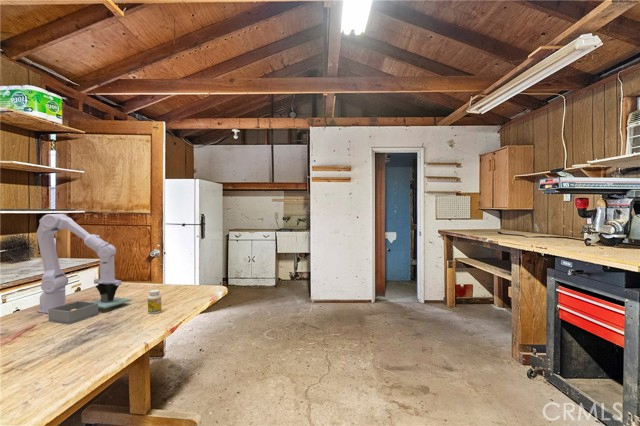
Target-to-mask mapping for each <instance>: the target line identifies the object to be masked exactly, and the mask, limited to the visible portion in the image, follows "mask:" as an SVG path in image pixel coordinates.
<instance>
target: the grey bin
mask: <svg viewBox="0 0 640 426" xmlns="http://www.w3.org/2000/svg"><path fill="white" fill-rule="evenodd" d="M72 309H76V310H73V311H71V310H72ZM47 315H48V322H52V323H58V324H64V325H71V324H74V323H78V322H81V321H83V320H87V319H90V318H92V317H95V316H98V315H99V308H98V303H92V301H83V300H77V301H73V302H70V303H66V304H65V305H62V306H58V307H54V308H51V309H48V313H47Z"/></svg>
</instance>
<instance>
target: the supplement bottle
mask: <svg viewBox="0 0 640 426" xmlns="http://www.w3.org/2000/svg"><path fill="white" fill-rule="evenodd" d="M148 294H149V295H148V297H147V313H148V314H149V315H155V314H160V313H161V312H162V295H161V294H160V289H152V290H149V292H148Z"/></svg>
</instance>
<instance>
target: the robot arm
mask: <svg viewBox="0 0 640 426" xmlns="http://www.w3.org/2000/svg"><path fill="white" fill-rule="evenodd" d="M38 222H39V226H38V228H37V230H36V238H37V243H38V246H39V252H40V256H41V260H42V265H43V271H44V273H43V274H42V276H41V283H40V288H41V290H42V293H41V295H40V296H39V310H37V313H42V314H48V309H51V308H54V307H58V306H62V305H65V304H67V303H66V286H68V283H69V278H68V276H66V273H65V271H64V270H63V269H62V268H61V266H60V261H59V257H58V252H57V247H56V244H55V237H54V236H55V234H56V233H57V232H58V231H60V230H62V229H63V230H68V231H70V233H72V234H74V235H76V236H77V237H79V238H81V239H82V240H83V244H84V245H86V246H87V247H88V248H90V249H91V250H93V251H94V252H95V253H96V255H97V257H98V258H99V278H95V279H93V284H95V288H96V289H97V290H98V293H99V294H100V296H101V294H105V293H108V300H109V301H110V300H113V299H114V297H116V296H115V295H116V292H117V290H118V288H119V287H120V286H122V280H120V279H119V280H118V279H116V278H115V276H116V275H115V274H116V273H115V272H116V269H115V268H116V267H115V265H116V264H115V255H116V253H117V248H116V246H114V244H110V243H109V242H108V241H105V240H103V239H102V238H100V237H101V236H100V235H98V234H94V233H93V234H90V233H89V232H88V231H87V230H85V229H84V228H83V227H82V226H80V225H79V224H78V223H77V222H75V220H73V219H72V217H69V216H68V215H66V214H65V213H53V214H52V213H49V214H48V213H47V214H45V215H44V216H42V217H41V218H40V219H39V221H38ZM96 284H97V285H96Z"/></svg>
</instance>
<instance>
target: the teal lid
mask: <svg viewBox="0 0 640 426" xmlns="http://www.w3.org/2000/svg"><path fill="white" fill-rule="evenodd" d="M131 301H132V298H126V297H116V296H114V299H113V300H110V301H109V300H108V293H105V294H101V295H100V299H95V300H93V301H91V302H92V303H98V309H103V310H104V309H108V308H112V307H115V306H118V305H122V304H124V303H128V302H131Z"/></svg>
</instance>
